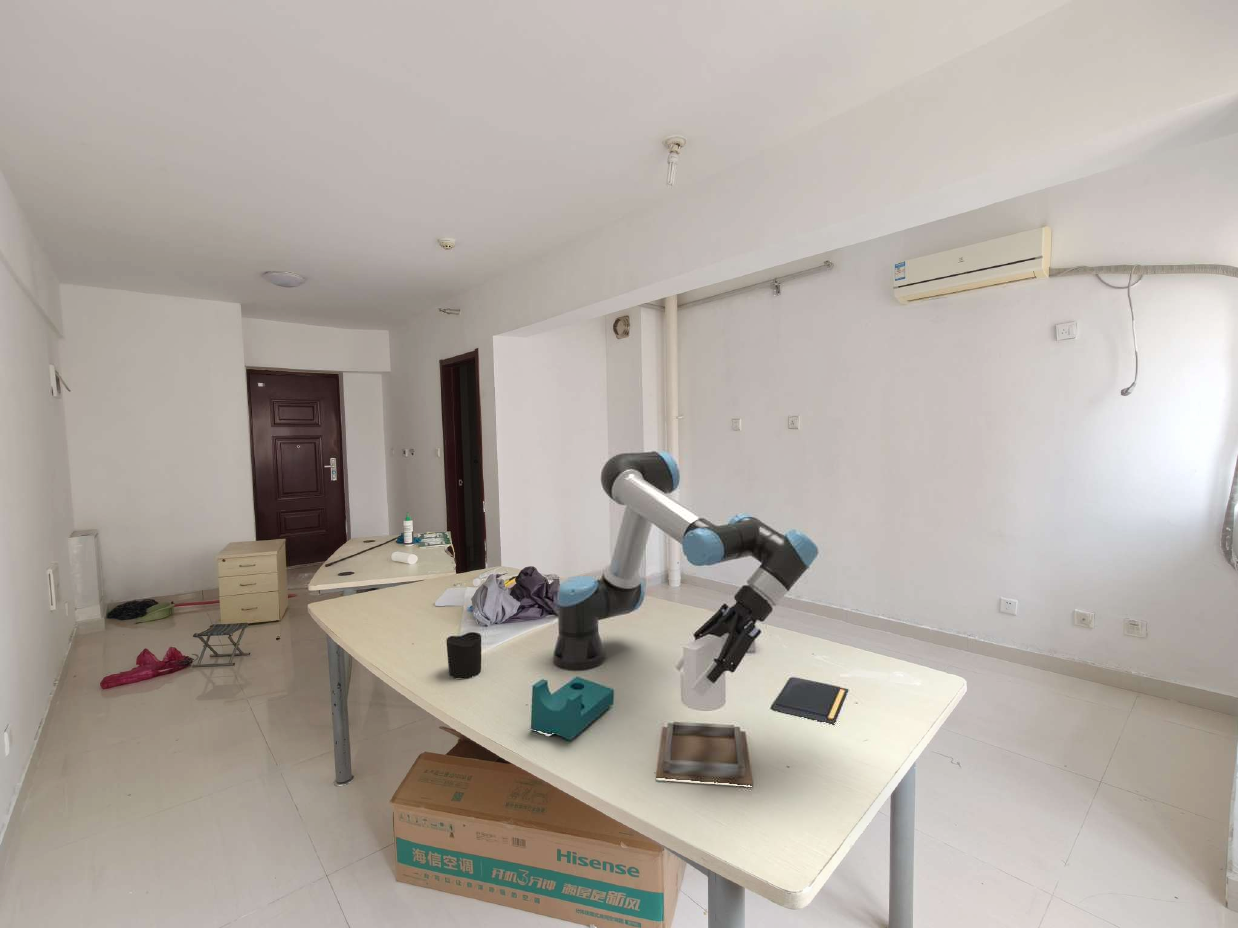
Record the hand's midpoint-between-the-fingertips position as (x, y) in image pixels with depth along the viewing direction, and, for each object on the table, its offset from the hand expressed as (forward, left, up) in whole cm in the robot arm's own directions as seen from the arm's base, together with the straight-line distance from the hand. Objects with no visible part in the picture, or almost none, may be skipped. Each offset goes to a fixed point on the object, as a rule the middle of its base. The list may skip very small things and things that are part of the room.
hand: (687, 680), depth 111 cm
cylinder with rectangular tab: (+3, +1, -4) cm, 6 cm away
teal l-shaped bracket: (-27, +13, -17) cm, 34 cm away
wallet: (+29, +28, -17) cm, 44 cm away
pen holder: (-63, +34, -16) cm, 74 cm away
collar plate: (+3, +1, -16) cm, 17 cm away
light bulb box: (+13, +59, -16) cm, 63 cm away
